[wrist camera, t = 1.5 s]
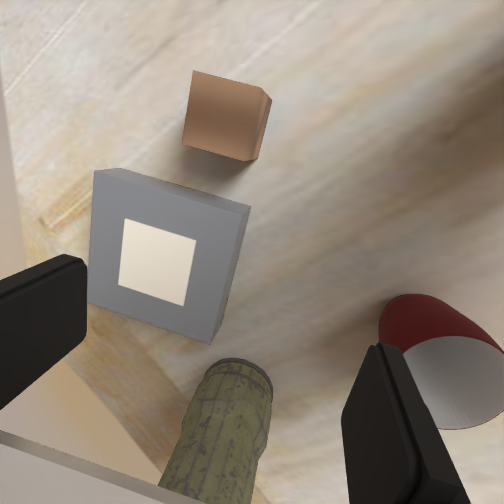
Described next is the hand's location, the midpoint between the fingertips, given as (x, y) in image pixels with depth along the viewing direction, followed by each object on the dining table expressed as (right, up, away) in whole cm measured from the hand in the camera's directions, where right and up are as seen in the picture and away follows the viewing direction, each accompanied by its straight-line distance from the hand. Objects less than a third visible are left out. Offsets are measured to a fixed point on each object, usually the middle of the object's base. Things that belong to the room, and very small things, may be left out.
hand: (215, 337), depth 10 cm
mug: (+18, -4, +21) cm, 27 cm away
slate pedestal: (-7, +3, +23) cm, 25 cm away
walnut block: (0, +14, +18) cm, 23 cm away
